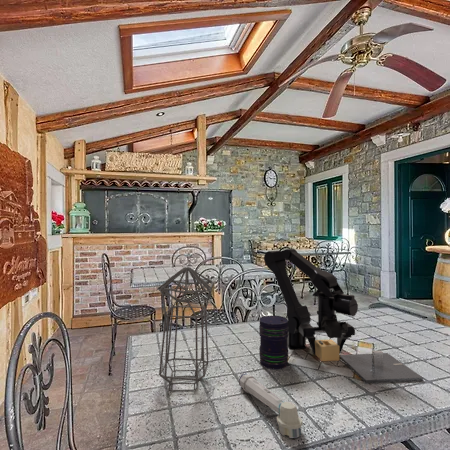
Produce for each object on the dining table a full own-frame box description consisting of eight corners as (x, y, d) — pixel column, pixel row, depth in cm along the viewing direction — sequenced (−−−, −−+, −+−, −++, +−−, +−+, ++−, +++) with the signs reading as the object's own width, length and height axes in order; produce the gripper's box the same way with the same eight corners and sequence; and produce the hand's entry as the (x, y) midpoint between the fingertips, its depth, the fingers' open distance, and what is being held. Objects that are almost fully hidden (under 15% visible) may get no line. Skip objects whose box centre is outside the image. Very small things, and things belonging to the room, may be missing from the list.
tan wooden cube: (339, 360, 108) (339, 344, 108) (321, 361, 107) (321, 345, 107) (331, 353, 114) (331, 338, 114) (314, 353, 114) (314, 338, 114)
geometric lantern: (164, 371, 100) (167, 263, 101) (212, 373, 100) (215, 264, 100) (151, 397, 85) (154, 269, 85) (208, 400, 84) (211, 271, 85)
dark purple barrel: (256, 367, 103) (255, 322, 103) (262, 355, 112) (262, 314, 112) (286, 371, 100) (285, 325, 100) (290, 359, 109) (290, 316, 109)
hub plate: (365, 383, 92) (365, 365, 92) (338, 357, 110) (338, 342, 110) (423, 380, 93) (423, 362, 93) (387, 355, 111) (387, 340, 111)
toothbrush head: (251, 371, 92) (305, 402, 70) (253, 394, 91) (308, 434, 69) (236, 374, 90) (286, 408, 68) (237, 399, 89) (289, 441, 67)
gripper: (309, 317, 102) (309, 364, 102) (363, 315, 103) (363, 362, 103) (298, 308, 113) (298, 351, 113) (347, 307, 115) (347, 349, 114)
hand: (326, 353), depth 111 cm, fingers open, 9 cm apart
